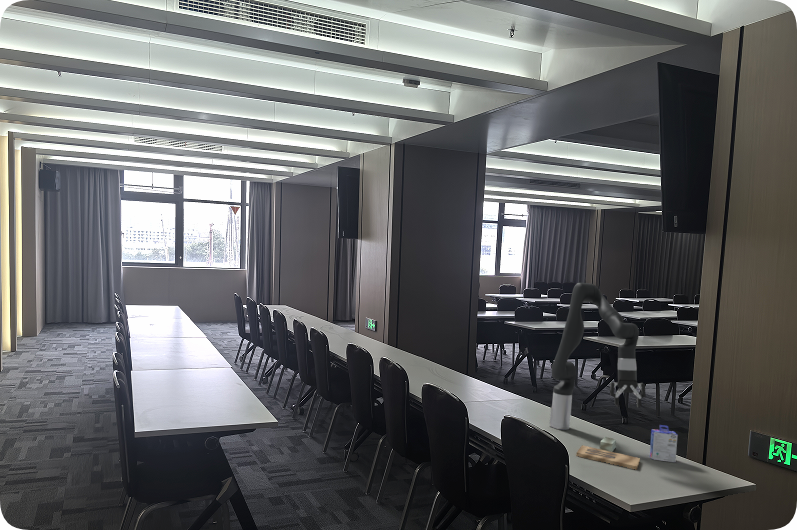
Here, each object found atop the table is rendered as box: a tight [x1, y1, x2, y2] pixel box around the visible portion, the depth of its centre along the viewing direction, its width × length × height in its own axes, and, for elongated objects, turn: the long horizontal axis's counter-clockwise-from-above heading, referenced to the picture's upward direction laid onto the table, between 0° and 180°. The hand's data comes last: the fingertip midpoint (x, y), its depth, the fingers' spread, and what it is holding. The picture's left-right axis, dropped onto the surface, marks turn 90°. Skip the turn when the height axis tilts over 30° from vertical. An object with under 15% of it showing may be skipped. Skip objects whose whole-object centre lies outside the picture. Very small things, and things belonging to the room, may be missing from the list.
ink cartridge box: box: [649, 424, 679, 463], centre depth 241 cm, size 10×6×14 cm, turn 78°
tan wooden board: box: [575, 445, 641, 471], centre depth 236 cm, size 24×12×2 cm, turn 60°
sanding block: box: [599, 436, 617, 452], centre depth 248 cm, size 5×9×4 cm, turn 147°
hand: (627, 407), depth 238 cm, fingers open, 8 cm apart
